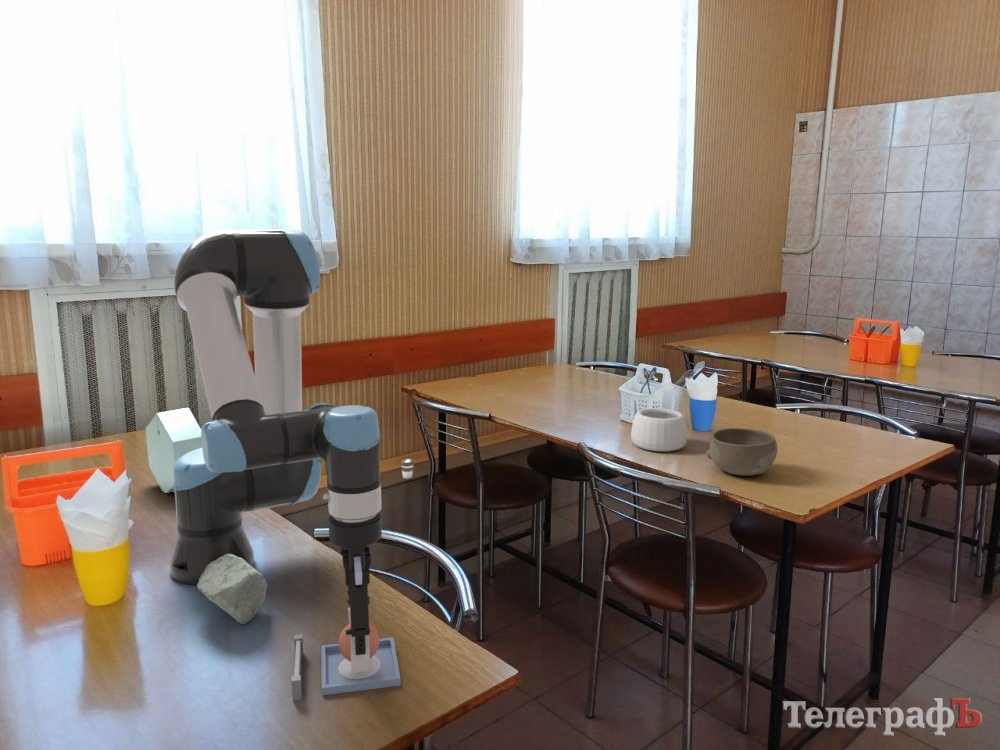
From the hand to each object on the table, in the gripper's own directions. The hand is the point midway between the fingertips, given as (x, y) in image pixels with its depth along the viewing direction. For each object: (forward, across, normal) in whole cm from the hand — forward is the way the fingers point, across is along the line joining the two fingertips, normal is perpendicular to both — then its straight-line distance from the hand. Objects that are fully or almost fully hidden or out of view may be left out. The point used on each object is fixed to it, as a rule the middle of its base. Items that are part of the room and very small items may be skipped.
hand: (359, 657), depth 114 cm
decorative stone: (+2, -20, -20) cm, 28 cm away
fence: (+2, 0, -9) cm, 9 cm away
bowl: (+2, -72, +106) cm, 128 cm away
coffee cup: (+2, -85, +17) cm, 87 cm away
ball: (0, 0, 0) cm, 0 cm away
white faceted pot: (+2, -101, +94) cm, 138 cm away
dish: (+2, 0, 0) cm, 2 cm away
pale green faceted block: (+2, -86, -40) cm, 95 cm away
